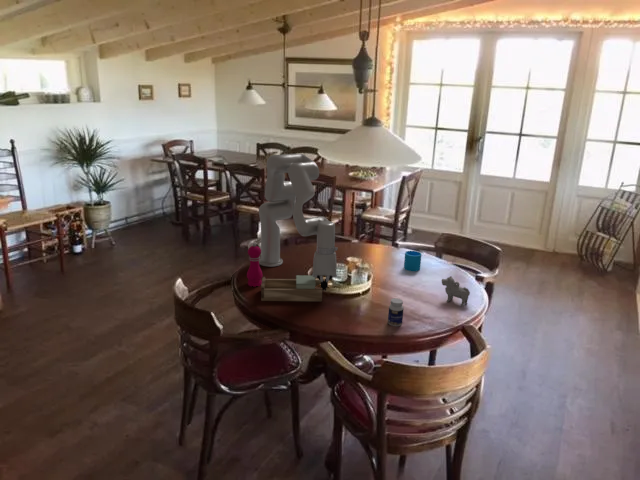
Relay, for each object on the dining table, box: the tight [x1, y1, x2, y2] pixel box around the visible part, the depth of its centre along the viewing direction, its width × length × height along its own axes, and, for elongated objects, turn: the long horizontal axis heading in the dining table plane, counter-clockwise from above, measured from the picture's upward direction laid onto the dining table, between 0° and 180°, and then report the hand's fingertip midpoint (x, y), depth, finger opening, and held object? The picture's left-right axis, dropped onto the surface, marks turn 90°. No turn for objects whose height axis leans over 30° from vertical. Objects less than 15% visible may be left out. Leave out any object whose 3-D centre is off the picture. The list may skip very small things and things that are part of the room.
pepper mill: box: [246, 242, 264, 288], centre depth 239 cm, size 7×7×20 cm
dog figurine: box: [441, 276, 471, 307], centre depth 229 cm, size 5×13×11 cm, turn 54°
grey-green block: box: [295, 274, 316, 289], centre depth 230 cm, size 9×8×6 cm
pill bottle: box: [387, 297, 404, 327], centre depth 207 cm, size 6×6×10 cm
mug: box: [403, 250, 422, 272], centre depth 267 cm, size 12×8×8 cm
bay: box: [260, 276, 323, 302], centre depth 230 cm, size 12×26×6 cm, turn 93°
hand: (324, 289), depth 231 cm, fingers closed
